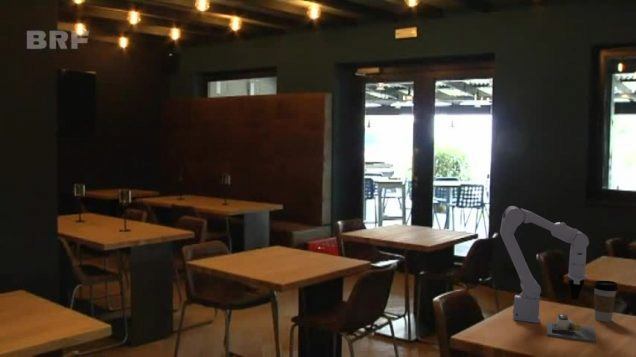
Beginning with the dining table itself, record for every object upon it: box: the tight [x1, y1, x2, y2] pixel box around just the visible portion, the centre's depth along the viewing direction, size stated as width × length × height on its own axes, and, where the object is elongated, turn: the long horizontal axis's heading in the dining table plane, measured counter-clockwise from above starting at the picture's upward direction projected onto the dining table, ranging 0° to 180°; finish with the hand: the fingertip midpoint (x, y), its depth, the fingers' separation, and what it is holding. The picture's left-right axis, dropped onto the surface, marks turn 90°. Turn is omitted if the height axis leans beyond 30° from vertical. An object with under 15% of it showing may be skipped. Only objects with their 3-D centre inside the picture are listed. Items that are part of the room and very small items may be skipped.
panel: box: [546, 320, 598, 344], centre depth 221 cm, size 16×16×2 cm
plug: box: [555, 315, 570, 331], centre depth 220 cm, size 5×5×5 cm
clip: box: [557, 313, 582, 331], centre depth 222 cm, size 12×3×2 cm, turn 6°
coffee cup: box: [593, 280, 618, 323], centre depth 238 cm, size 8×8×15 cm
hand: (574, 299), depth 232 cm, fingers closed
